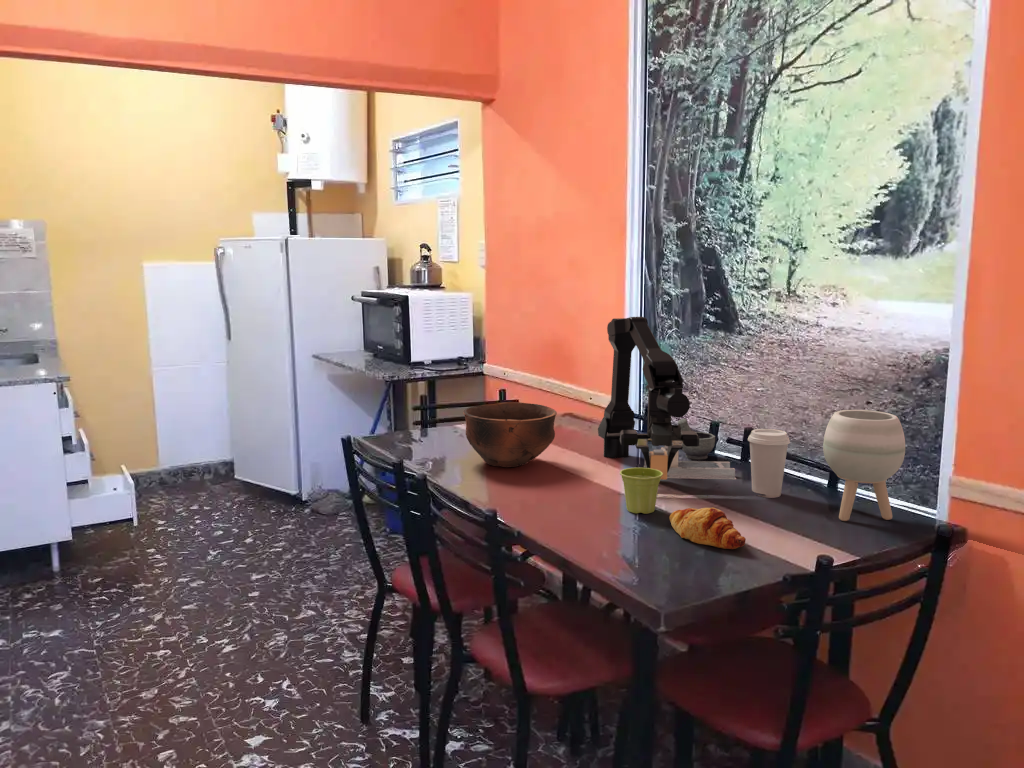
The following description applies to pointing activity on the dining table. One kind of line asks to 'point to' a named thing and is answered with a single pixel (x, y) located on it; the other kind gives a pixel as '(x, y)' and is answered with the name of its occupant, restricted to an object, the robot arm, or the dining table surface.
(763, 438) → the coffee cup
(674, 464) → the block
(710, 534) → the croissant
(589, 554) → the dining table surface
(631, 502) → the plant pot
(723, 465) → the grey tray
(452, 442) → the dining table surface
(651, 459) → the block
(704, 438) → the mortar and pestle
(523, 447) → the bowl
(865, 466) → the planter
